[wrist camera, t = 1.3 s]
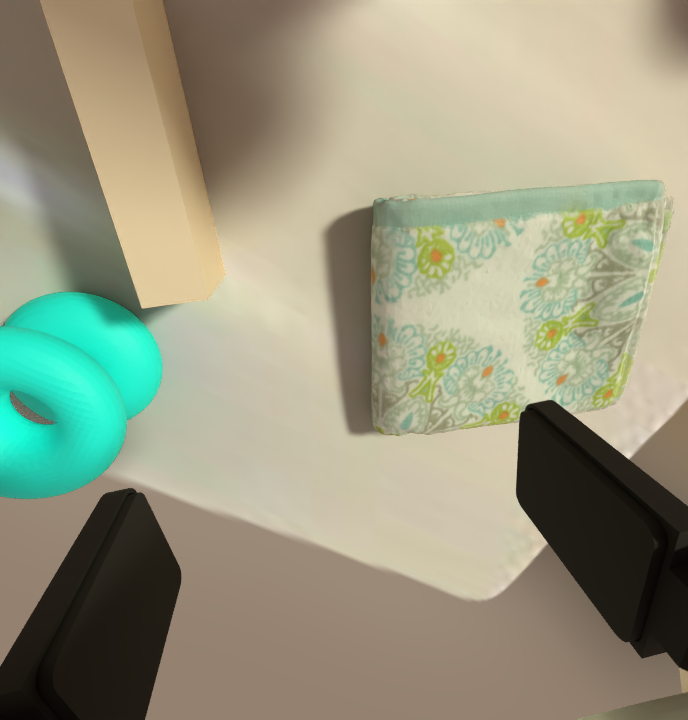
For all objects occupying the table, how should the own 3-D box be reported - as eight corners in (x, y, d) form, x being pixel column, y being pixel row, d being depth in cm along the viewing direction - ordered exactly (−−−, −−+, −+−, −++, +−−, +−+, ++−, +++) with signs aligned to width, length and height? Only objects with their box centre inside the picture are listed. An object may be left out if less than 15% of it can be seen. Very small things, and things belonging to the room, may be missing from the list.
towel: (589, 392, 36) (633, 421, 32) (367, 417, 34) (380, 453, 30) (641, 179, 29) (709, 177, 24) (362, 193, 27) (378, 194, 22)
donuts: (-144, 467, 19) (-89, 296, 16) (-5, 377, 28) (45, 258, 25) (72, 533, 22) (146, 400, 20) (133, 433, 31) (190, 333, 29)
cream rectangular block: (96, 5, 21) (14, -76, 15) (163, 0, 21) (110, -81, 15) (175, 280, 27) (141, 308, 21) (226, 274, 27) (208, 299, 21)
